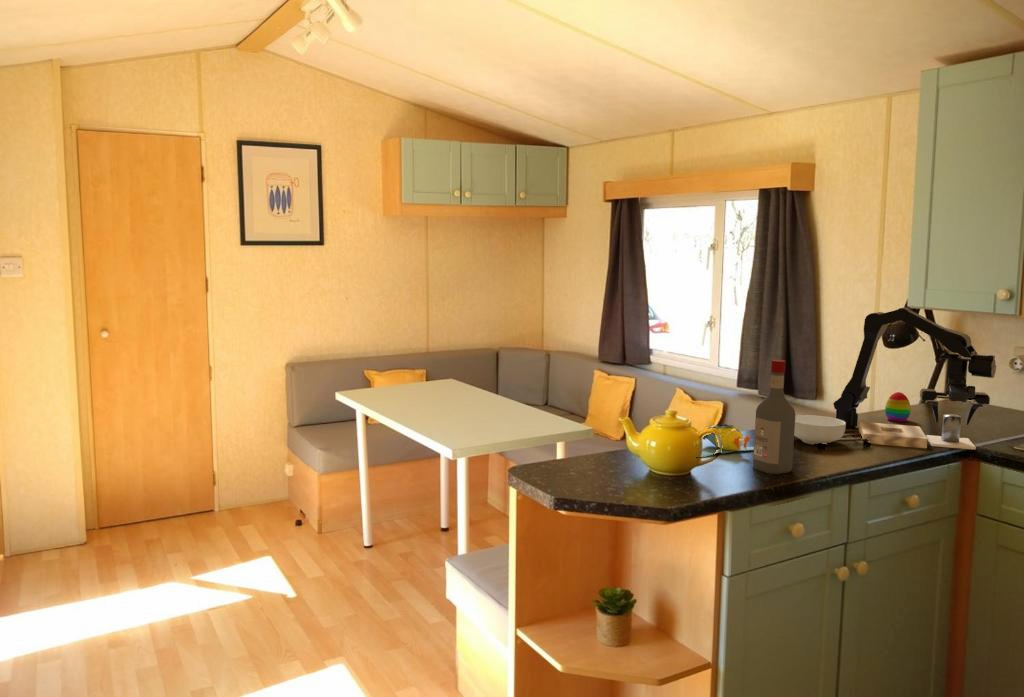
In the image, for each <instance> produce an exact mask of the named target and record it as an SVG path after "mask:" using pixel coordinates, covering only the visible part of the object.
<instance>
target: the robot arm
mask: <svg viewBox="0 0 1024 697" xmlns="http://www.w3.org/2000/svg"><path fill="white" fill-rule="evenodd" d="M900 321H902V322H904V323H905V324H907V325H909V326H911V327H913V328H915V329H917V330H919V331H920V332H922V333H924V334H926V335H928V336H930V337H932V338H934V339H936V340H937V341H938V342H939V343H940V344H941V346H943V347H944V348H946V349H947V350H945V352H944V353H942V354H941V355H940V356H939V358H940V359H944V360H946V366H945V367H946V368H945V380H944V392H939V391H936V389H933V388H921V389H920V391H919V398H920V399H921V400H922V401H925V402H927V403H928V404H929V405H930V407H931V411H932V412H933V416H934V420H935V423H937V424H938V423H939V401H938V399H944V400H946V399H947V400H949V401H951V402H961V403H967V402H968V403H967V404H968V406H967V410H966V412H967V413H966V417H965V425H966V426H968V425H970V424H969V423H970V422H971V420H972V418H973V416H974V414H975V412H976V410H978V409H979V408H980V407H983V406H984V405H990V402H991V398H990V396H989V395H988V393H986V392H979V391H976V386H974V385H968V386H967V374H968V373H969V374H971V376H972V377H980V378H988V379H989V378H990V379H994V377H995V375H996V370H997V365H996V364H997V363H996V359H995V358H996V356H995V355H993V354H988V355H986V354H978V352H977V350H976V349H975V347H974V346H973V344H972V339H971V337H970V335H968V334H967V333H964V332H961V331H958V330H954V329H951V328H946V327H944V326H943V325H940V324H938V323H936V322H934V321H932V320H930V319H928V318H926V317H924V316H923V315H920V314H919V313H917V312H915V311H913V310H911V309H910V308H909V307H900V308H898V309H895V310H891V311H888V312H882V311H877V312H872V313H869V314H867V315H866V316H865V318H864V321H863V322H864V323H863V341H862V344H861V347H860V350H859V354H858V356H857V360H856V363H855V366H854V369H853V372H852V376H851V378H850V379H849V381H848V382H847V384H846V385H845V387H844V389H843V390H842V392H841V394H840V397H839V398H838V399H837V400H835V401H834V402H833V403H832V404H833V407H834V410H835V417H834V418H836V419H840V420H842V421H844V422H845V423H846V427H845V429H855V430H856V429H857V427H858V423H859V422H858V421H859V420H858V419H859V413H858V412H857V408H858V407H859V405H860V404H862V403H863V402H864V401H865V400H866V399H868V393H869V391H870V389H871V387H870V386H867V377H868V373H869V371H870V368H871V365H872V361H873V358H874V355H875V353H876V349H877V346H878V343H879V341H880V339H881V337H883V335H884V333H886V330H887V328H888V327H889V324H894V323H898V322H900Z"/></svg>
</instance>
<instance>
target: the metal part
mask: <svg viewBox="0 0 1024 697" xmlns="http://www.w3.org/2000/svg"><path fill="white" fill-rule="evenodd" d="M961 426H962V416H961V415H959V414H954V413H953V414H952V413H944V414H943V416H942V428H941V436H942V437H941V440H942V441H944V442H950V443H958V442H959V439H960V438H961V428H962V427H961Z"/></svg>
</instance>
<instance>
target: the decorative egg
mask: <svg viewBox="0 0 1024 697" xmlns="http://www.w3.org/2000/svg"><path fill="white" fill-rule="evenodd" d="M911 406H912V405H911V402H910V400H909V398H908V397H907V396H906V395H905V394H904V393H903V392H901V391H898V392H894V393H893V394H891V395H890V396H889V397H888V399H887V401H886V402H885V407H884V412H885V415H886V418H887V419H888V420H889V421H891V422H895V423H896V422H897V423H898V422H899V423H904V422H906V421H907V420H908V419H909V418H910V415H911V411H912V410H911V409H912V408H911Z"/></svg>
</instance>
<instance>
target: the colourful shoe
mask: <svg viewBox="0 0 1024 697" xmlns="http://www.w3.org/2000/svg"><path fill="white" fill-rule="evenodd" d="M710 428H716V429H717V431H718V432H719V433H720V435H721V440H722V445H723V448H722V452H721V454H720V455H722V454H726V453H727V454H728V453H733V452H747V451H748V452H749V451H754V446H747V444H748V443H749V441H750V439H751V438H752V437H753V436H750V435H746V436H745V437H743V436H744V435H743V434H742V432H741V431H740V430H739V429H737V428H736V427H735V426H734V425H732V424H721V425H710V426H709V427H708V428H707V429H710ZM706 439H707V440H708V441H709V442H710V443H711V444H713V446H715V447H716V448H717V449H718V442H717V438H716V436H715V435H714V434H709V435H706V436H704V437H703V436H702V440H706ZM742 446H743V447H742ZM717 449H710V450H705V451H701V452H702V458H701V459H703V458H706V457H711V456H714V455H715V454H714V453H715V452H716V450H717ZM713 454H714V455H713Z"/></svg>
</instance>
